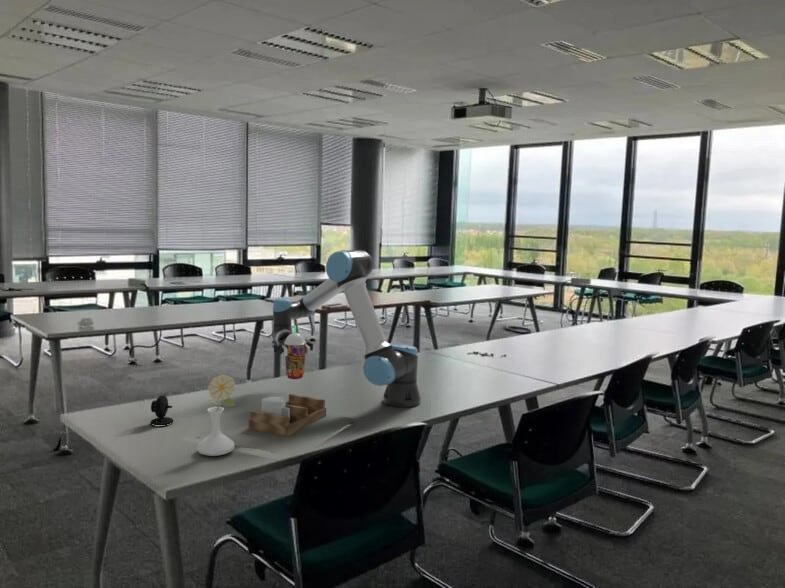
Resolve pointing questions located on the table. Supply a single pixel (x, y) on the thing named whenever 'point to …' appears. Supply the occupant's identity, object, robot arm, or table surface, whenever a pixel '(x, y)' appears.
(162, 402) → the webcam
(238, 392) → the table surface
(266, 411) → the mug
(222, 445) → the flower in vase
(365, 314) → the robot arm
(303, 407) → the rack
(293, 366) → the smoothie
